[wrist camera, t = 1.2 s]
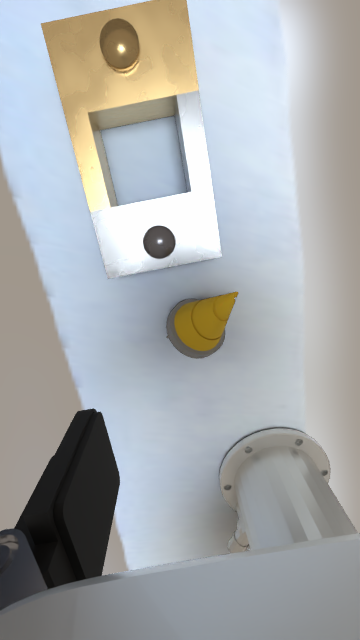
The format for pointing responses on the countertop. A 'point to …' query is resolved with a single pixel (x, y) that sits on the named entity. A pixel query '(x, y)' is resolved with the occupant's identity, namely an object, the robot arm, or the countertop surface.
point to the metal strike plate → (128, 108)
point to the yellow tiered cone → (200, 324)
